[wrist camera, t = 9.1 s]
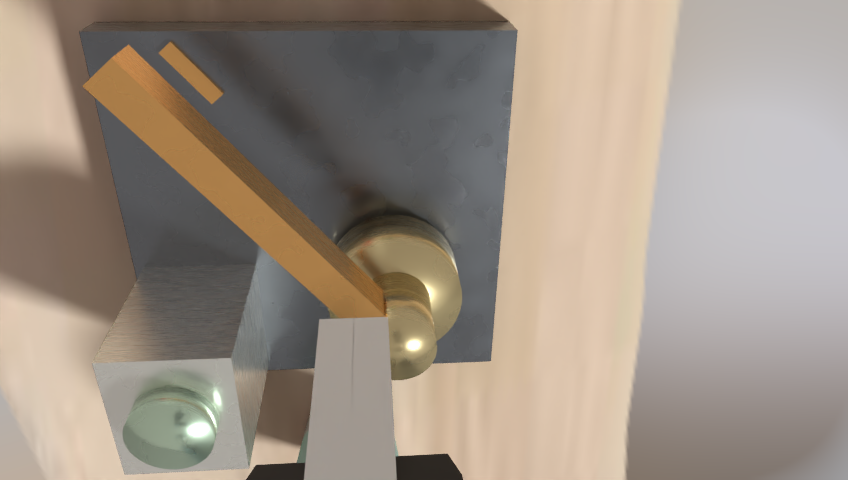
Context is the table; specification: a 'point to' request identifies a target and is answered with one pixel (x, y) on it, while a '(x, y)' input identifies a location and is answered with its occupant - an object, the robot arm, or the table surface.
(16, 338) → the table surface
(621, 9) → the table surface
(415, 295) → the door handle
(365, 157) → the levelling base
